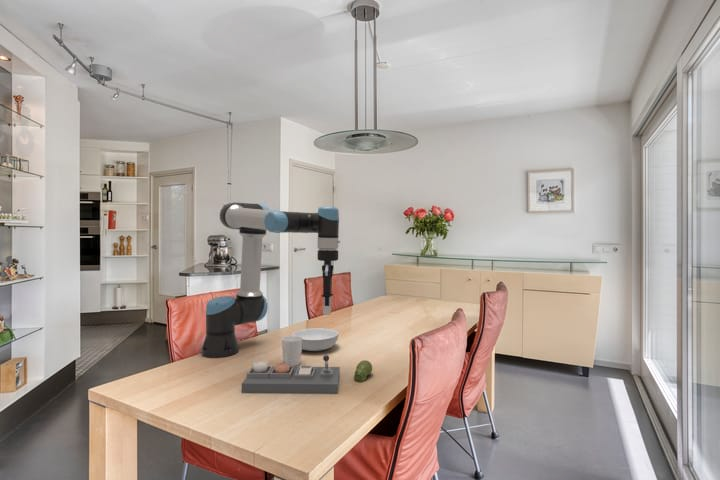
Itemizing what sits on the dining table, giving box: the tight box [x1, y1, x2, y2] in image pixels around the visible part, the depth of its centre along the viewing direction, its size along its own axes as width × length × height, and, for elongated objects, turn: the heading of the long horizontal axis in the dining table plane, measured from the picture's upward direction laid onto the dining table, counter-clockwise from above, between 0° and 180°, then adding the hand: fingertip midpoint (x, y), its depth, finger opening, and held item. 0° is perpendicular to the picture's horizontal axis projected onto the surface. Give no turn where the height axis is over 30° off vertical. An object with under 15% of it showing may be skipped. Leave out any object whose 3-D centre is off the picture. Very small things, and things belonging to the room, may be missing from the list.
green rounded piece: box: [353, 360, 373, 382], centre depth 139 cm, size 6×5×10 cm
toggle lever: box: [322, 354, 332, 372], centre depth 130 cm, size 2×2×8 cm
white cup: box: [281, 335, 303, 367], centre depth 153 cm, size 8×8×10 cm
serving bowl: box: [291, 327, 339, 352], centre depth 173 cm, size 21×21×7 cm
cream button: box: [252, 359, 269, 373], centre depth 132 cm, size 5×5×3 cm
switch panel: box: [241, 365, 341, 394], centre depth 133 cm, size 16×31×5 cm, turn 90°
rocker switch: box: [298, 365, 313, 375], centre depth 133 cm, size 5×4×1 cm
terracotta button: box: [274, 363, 290, 373], centre depth 133 cm, size 5×5×3 cm
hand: (327, 314), depth 140 cm, fingers closed
